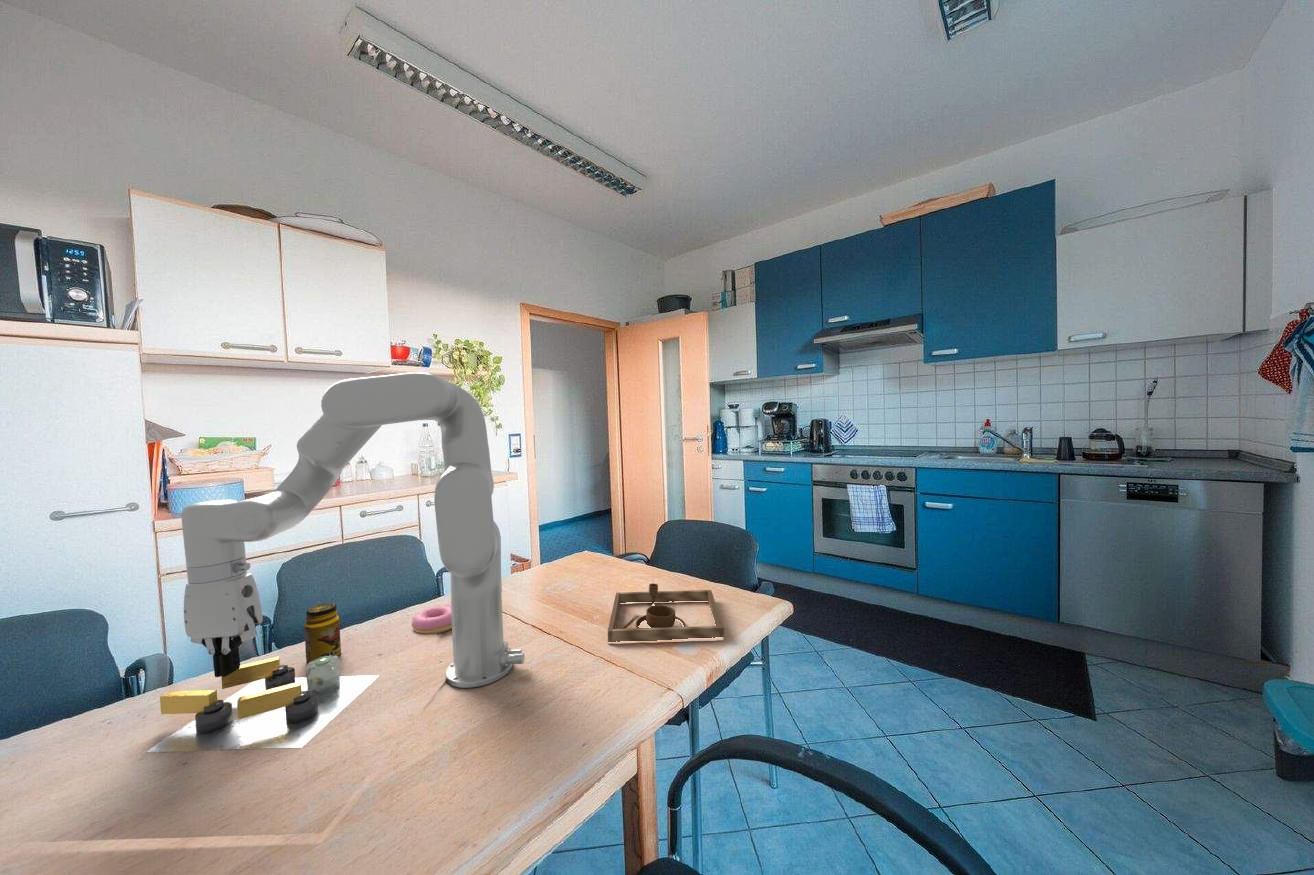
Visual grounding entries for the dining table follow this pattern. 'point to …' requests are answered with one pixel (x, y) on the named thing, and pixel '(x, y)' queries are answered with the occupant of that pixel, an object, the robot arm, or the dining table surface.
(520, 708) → the dining table surface
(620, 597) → the brown rectangular frame
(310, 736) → the silver flat rectangular sheet
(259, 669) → the knob
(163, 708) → the knob
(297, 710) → the knob
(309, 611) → the condiment
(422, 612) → the doughnut
